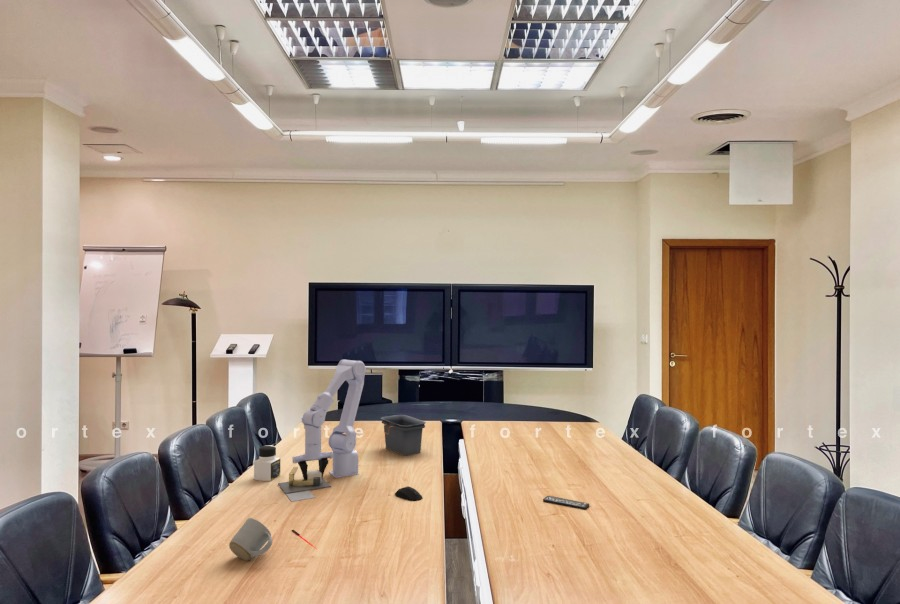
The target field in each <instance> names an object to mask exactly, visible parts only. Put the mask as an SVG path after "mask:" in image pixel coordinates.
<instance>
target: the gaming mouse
mask: <svg viewBox="0 0 900 604" xmlns="http://www.w3.org/2000/svg"><path fill="white" fill-rule="evenodd" d="M394 496H396V497H397V498H400V499H402V500H405V501H409V502H419V501H423V499H424V497H423V496H422V494H421V493H420V492H419V491H418V490H417V489H416V488H413V487H411V486H405V487H401V488H398V489H397V490H396V491H395V493H394Z"/></svg>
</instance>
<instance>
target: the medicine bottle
mask: <svg viewBox="0 0 900 604" xmlns="http://www.w3.org/2000/svg"><path fill="white" fill-rule="evenodd" d="M276 447H277V446H274V445H269V444H268V445H263V446H261V447H259V449H258V459H256V460H254V462H253V480H254V481H261V480H262V481H264V482H272V481H274V480H275V478H276V479H277V478H279V477H280V476H281V457H280V456H279V457H278V456H277V455H276V453H277V452H276V451H277V448H276Z"/></svg>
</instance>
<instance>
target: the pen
mask: <svg viewBox="0 0 900 604" xmlns="http://www.w3.org/2000/svg"><path fill="white" fill-rule="evenodd" d="M291 532H292V533H294V534H295V535H296V536H298V537H299V538H300V539H302V540H303V541H305V542H306V543H307V544H308V545H310V546H311V547H313V548H314V549H316V547H315V546H314V545H313V544H311V543H310V541H308V540H306V539H305V538H304V537H303V536H301V534H300V533H298V531H296V530H295V529H292V530H291Z"/></svg>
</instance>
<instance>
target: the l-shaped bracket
mask: <svg viewBox="0 0 900 604" xmlns="http://www.w3.org/2000/svg"><path fill="white" fill-rule="evenodd" d="M298 469H299V466H293V467H292V469H291V471H290V472H289V474H288V482H289V486H300V485H313V486H320V477H314V479H302V478H301V479H300V478H299V479H295V475H296V473H297V471H298Z"/></svg>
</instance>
